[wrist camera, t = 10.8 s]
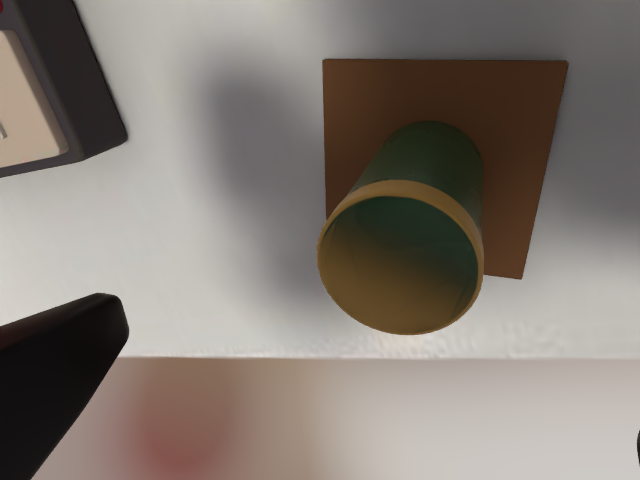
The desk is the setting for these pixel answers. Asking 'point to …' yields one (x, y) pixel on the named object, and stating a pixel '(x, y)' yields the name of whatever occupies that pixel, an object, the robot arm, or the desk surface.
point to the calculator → (50, 90)
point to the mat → (461, 112)
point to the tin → (409, 233)
